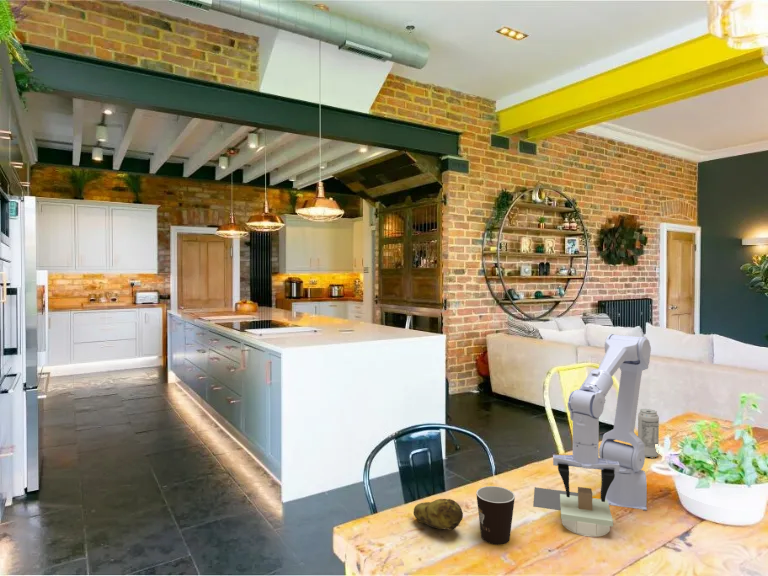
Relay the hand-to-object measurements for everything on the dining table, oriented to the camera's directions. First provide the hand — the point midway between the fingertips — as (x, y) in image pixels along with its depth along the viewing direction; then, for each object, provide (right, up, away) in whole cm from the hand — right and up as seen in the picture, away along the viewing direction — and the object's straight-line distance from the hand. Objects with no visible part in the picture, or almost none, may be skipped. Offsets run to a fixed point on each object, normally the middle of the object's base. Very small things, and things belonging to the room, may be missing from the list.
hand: (585, 497), depth 117 cm
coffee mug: (-22, -7, -3) cm, 23 cm away
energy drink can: (+40, -6, +46) cm, 61 cm away
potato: (-35, -7, -1) cm, 36 cm away
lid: (0, -4, 0) cm, 4 cm away
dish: (0, -7, 0) cm, 7 cm away
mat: (-2, -7, +13) cm, 15 cm away
